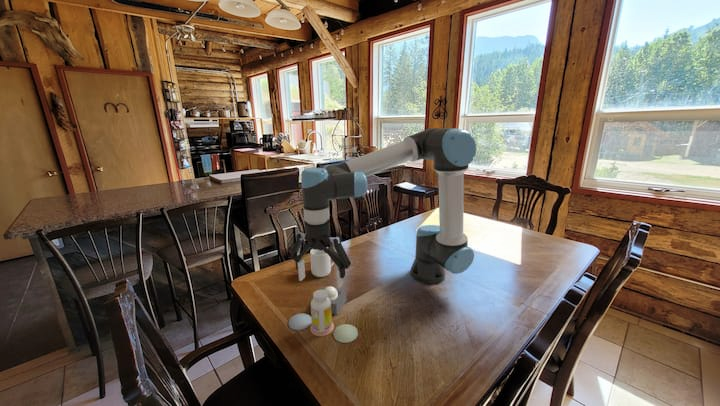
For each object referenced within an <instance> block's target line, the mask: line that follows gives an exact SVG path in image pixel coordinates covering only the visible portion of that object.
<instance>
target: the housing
mask: <svg viewBox="0 0 720 406" xmlns="http://www.w3.org/2000/svg"><path fill="white" fill-rule="evenodd" d="M327 287H328V286H323V288H321V290H325V289H326V288H327ZM334 288H335V287H334ZM335 289H336V290H337V292H338V297H337V299H336V300H335V301H331V300H330V301H331V315H335V316H338V314H339V312H340V311H341V309H342V308H343V306H344V305H345V303H346V302H347V290H345V289H341V288H340V289H338V288H335Z"/></svg>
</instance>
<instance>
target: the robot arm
mask: <svg viewBox="0 0 720 406" xmlns="http://www.w3.org/2000/svg"><path fill="white" fill-rule="evenodd" d="M476 153H477V143H476V140H475V138H474V136H473V135H472V134H471V133H470V132H469V131H467V130H464V129H460V128H456V127H455V128H454V127H453V128H451V127H450V128H446V127H445V128H443V127H441V128H440V127H431V128H427V129H425V130H422V131H419V132H417V133H414V134H411V135H409V136H406V137H404V138H403V140H402V141H400V142H397V143H394V144H391V145H389V146H386V147H383V148H380V149H377V150H374V151H372V152H369V153H366V154H363V155H361V156H358V157H356V158H352V159H350V160H347V161H344V162H341V163H337V164H327V165H325V166H323V167H310V168H305V169H303V170H302V172H301V178H300V179H301V180H300V181H301V183H300V184H301V185H300V187H301V193H302V194H301V195H302V206H303V208H302V209H303V221H304V231H303V230H302V231H300V232H298V233H297V234H296V239H295V242H294V245H293V247H292V250H291V252H290V255H289V259H290V260H294V262H295V269H296V270H297V272H298V282H299V281H300V282H302V281H303V280H304V279H305V277H306V269H305V259H304V258H303V257H304V256H305V255H306V254H307V252H309V250H311V249H318V250H321V251H322V250H323V251H324V252H325V253H327V254H328V255H329V256H330V258H331V260H332V262H334V264H335V266H337V269H336V282H337V283H336V284H337V288H336V289H341V288H342V286H343V285H344V278H345V277H346V270H348V269H349V268H350V267H351V265H352V262H351V260H350V258H349V256H348V255H347V251H345V248H344V246H343V243H342V242H341V241H342V240H341V236H339V235H336V237H332V236H331V222H330V203H329V202H330V200H332V201H333V200H341V199H347V198H348V199H350V198H356V197H361V196H364V195H366V193H367V191H368V179H367V177H369V176H372V175H375V174H377V173H380V172H384V171H386V170H388V169H390V168H394V167H396V166H399V165H401V164H403V163H406V162H409V161H410V162H412V163H414V162H417V161H420V160H429V161H430V160H431V161H433V170H434V171H435V172H436V173H437V177H438V207H439V208H438V209H439V216H438V217H439V225H436V224H435V225H434V224H426V225H422V226H419V227H418V228H417V230H416V235H415V236H416V240H415V241H416V242H415V258H414V259H413V260H414V261H413V262H412V264H411V267H410V276H411V277H412V279H414V280H415V281H417V282H418V283H422V284H427V285H428V284H430V285H433V284H434V285H436V284H440V283H443V281H445V279H446V271H448V272H449V273H452V274H454V275H458V274H462V273H464V272H466V271H467V270H468V269H469V268H470V267H471V266H472V264H473V262H474V260H475V259H474V258H475V251H474V250H473V249H472V248H471V247H470V246H468V235H467V234H466V233H464V203H465V202H464V200H465V199H464V198H465V197H464V196H465V193H464V184H465V183H464V182H465V181H464V180H465V179H464V177H465V176H464V175H465V172H467V170H468V169H469V164H471V163H472V162H473V161H474V157H475V156H476ZM304 232H305V233H304ZM304 240H306V242H307V244H306V245H305V246H304V247H303V248H302V250H301V251H300V252H299V250H300V248H301V246H302V244H303V241H304ZM327 248H328V249H327ZM335 250H336V251H335ZM445 270H446V271H445Z"/></svg>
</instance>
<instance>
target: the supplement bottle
mask: <svg viewBox="0 0 720 406" xmlns="http://www.w3.org/2000/svg"><path fill="white" fill-rule="evenodd" d="M310 313H311V315H310V316H311V318H312V323H311V325H312V328H313V329H314V330H315V331H316V332H320V333H321V332H326V331H328V330H329V329H330V328H331V326H332V322H333V317H332V316H333V315H332V314H331V301H330V299H329V298H328V294H327V291H325V290H322V289H317V290H315V291H314V292H313V294H312V299H311V301H310Z"/></svg>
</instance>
